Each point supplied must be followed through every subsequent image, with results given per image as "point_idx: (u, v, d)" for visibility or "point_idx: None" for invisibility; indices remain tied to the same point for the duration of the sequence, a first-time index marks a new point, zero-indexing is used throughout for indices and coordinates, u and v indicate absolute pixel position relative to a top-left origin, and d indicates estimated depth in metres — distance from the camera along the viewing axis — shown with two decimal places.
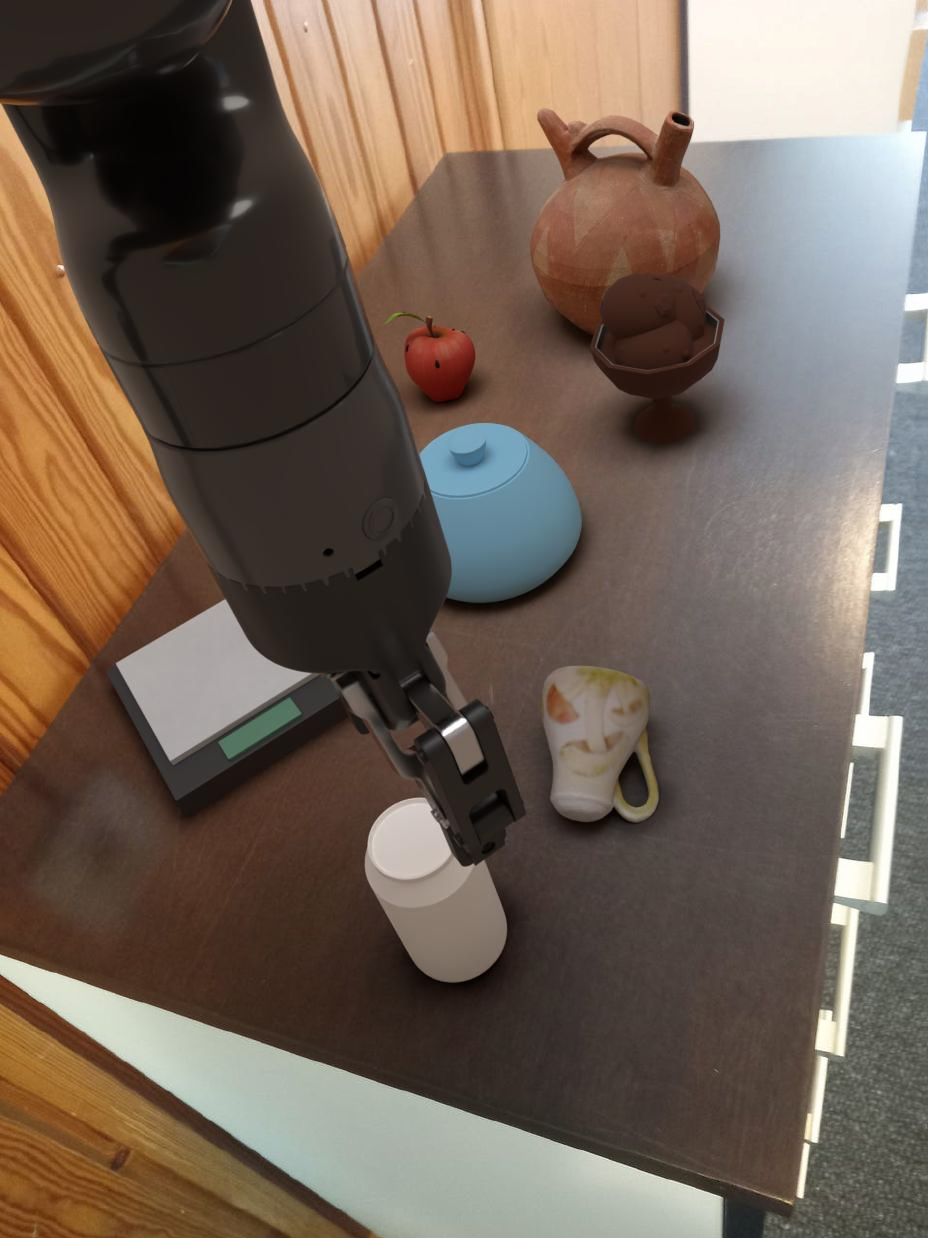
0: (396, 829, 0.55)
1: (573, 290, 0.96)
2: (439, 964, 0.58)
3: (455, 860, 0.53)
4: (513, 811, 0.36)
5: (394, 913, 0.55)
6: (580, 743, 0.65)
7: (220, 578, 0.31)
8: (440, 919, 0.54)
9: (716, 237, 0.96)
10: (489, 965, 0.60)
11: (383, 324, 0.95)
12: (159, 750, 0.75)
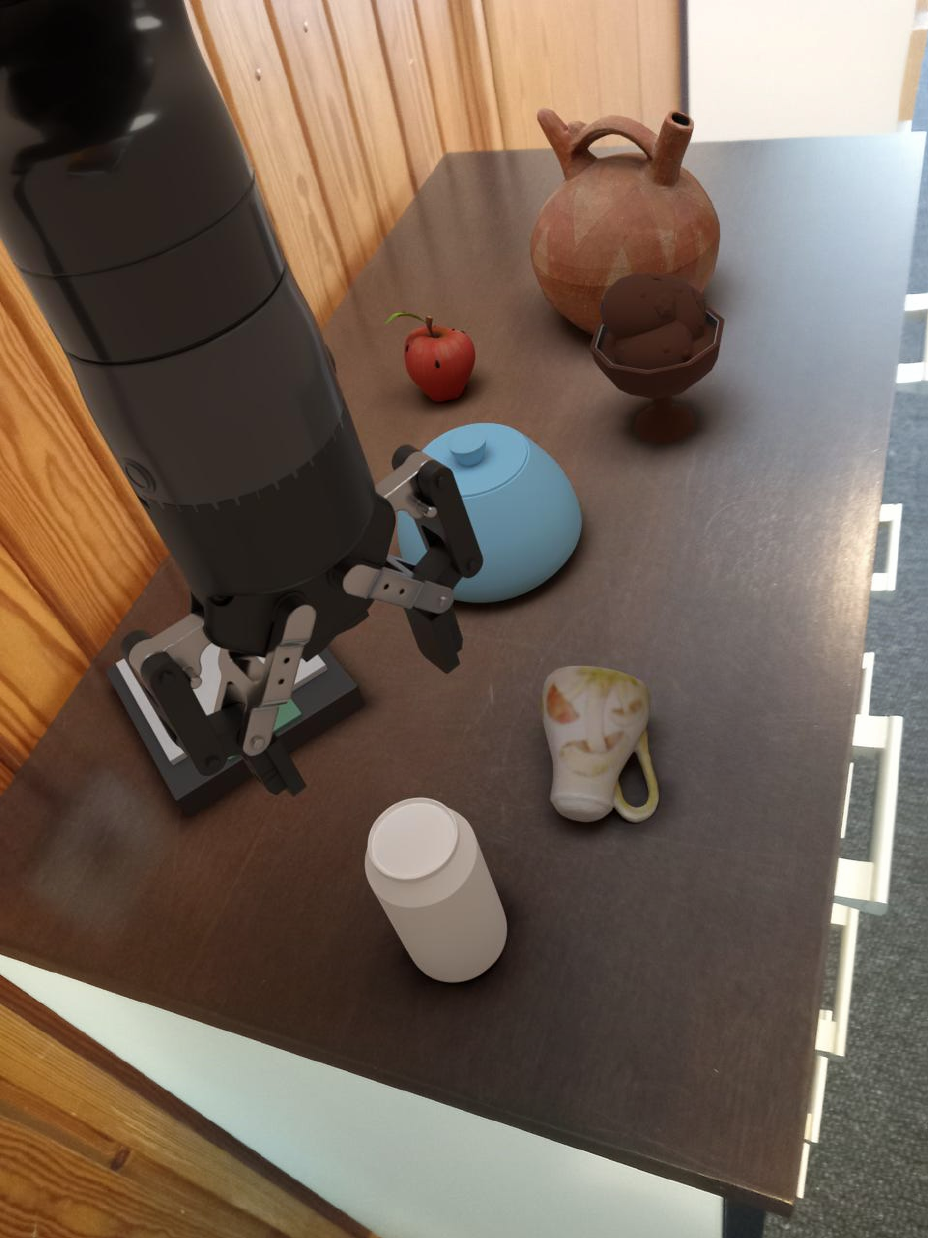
0: (396, 829, 0.55)
1: (573, 290, 0.96)
2: (439, 964, 0.58)
3: (455, 860, 0.53)
4: (190, 759, 0.38)
5: (394, 913, 0.55)
6: (580, 743, 0.65)
7: None
8: (440, 919, 0.54)
9: (716, 237, 0.96)
10: (489, 965, 0.60)
11: (383, 324, 0.95)
12: (159, 750, 0.75)
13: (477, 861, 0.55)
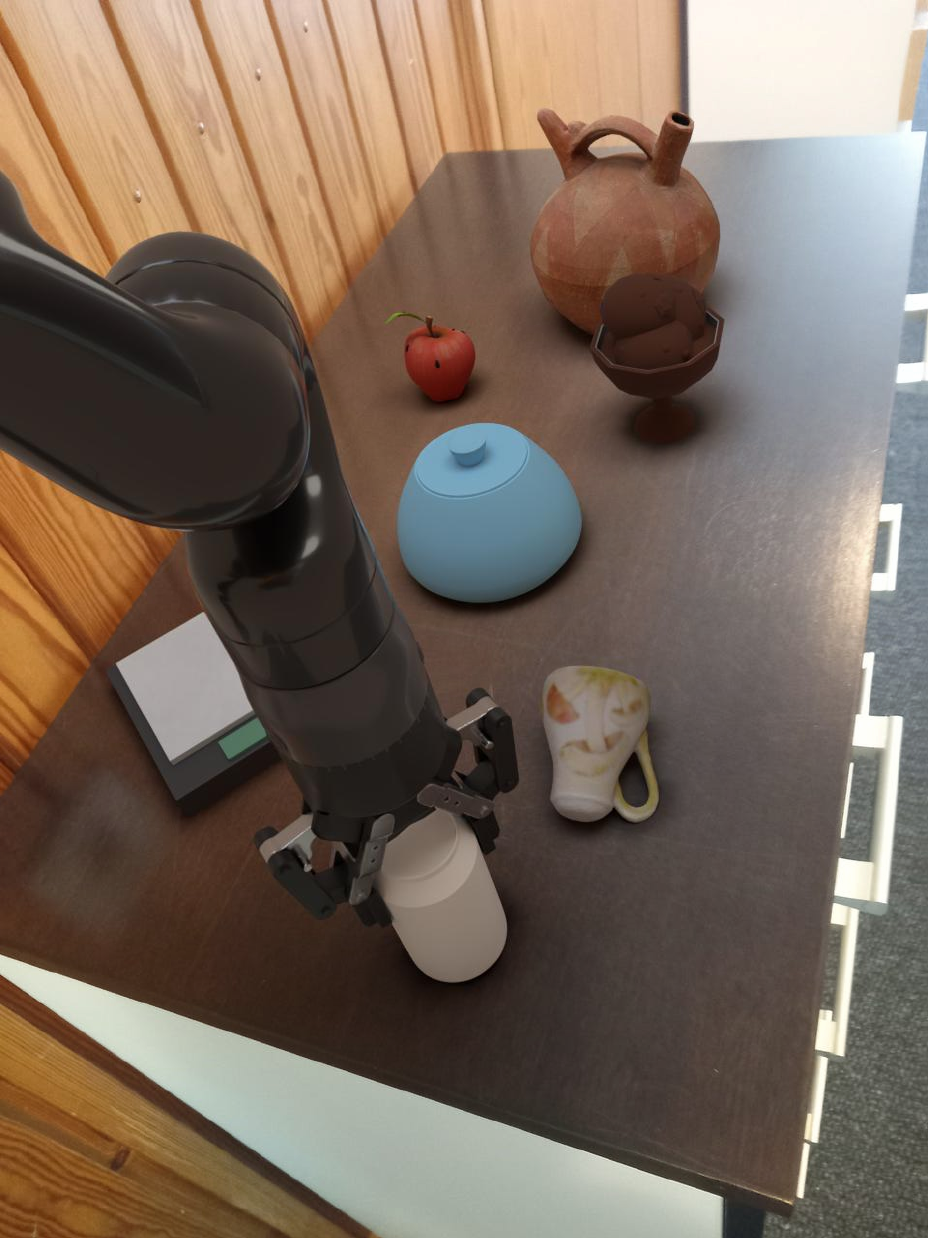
0: None
1: (573, 290, 0.96)
2: (439, 964, 0.58)
3: (455, 860, 0.53)
4: None
5: (394, 913, 0.55)
6: (580, 743, 0.65)
7: None
8: (441, 919, 0.54)
9: (716, 237, 0.96)
10: (489, 965, 0.60)
11: (383, 324, 0.95)
12: (159, 750, 0.75)
13: (477, 861, 0.55)
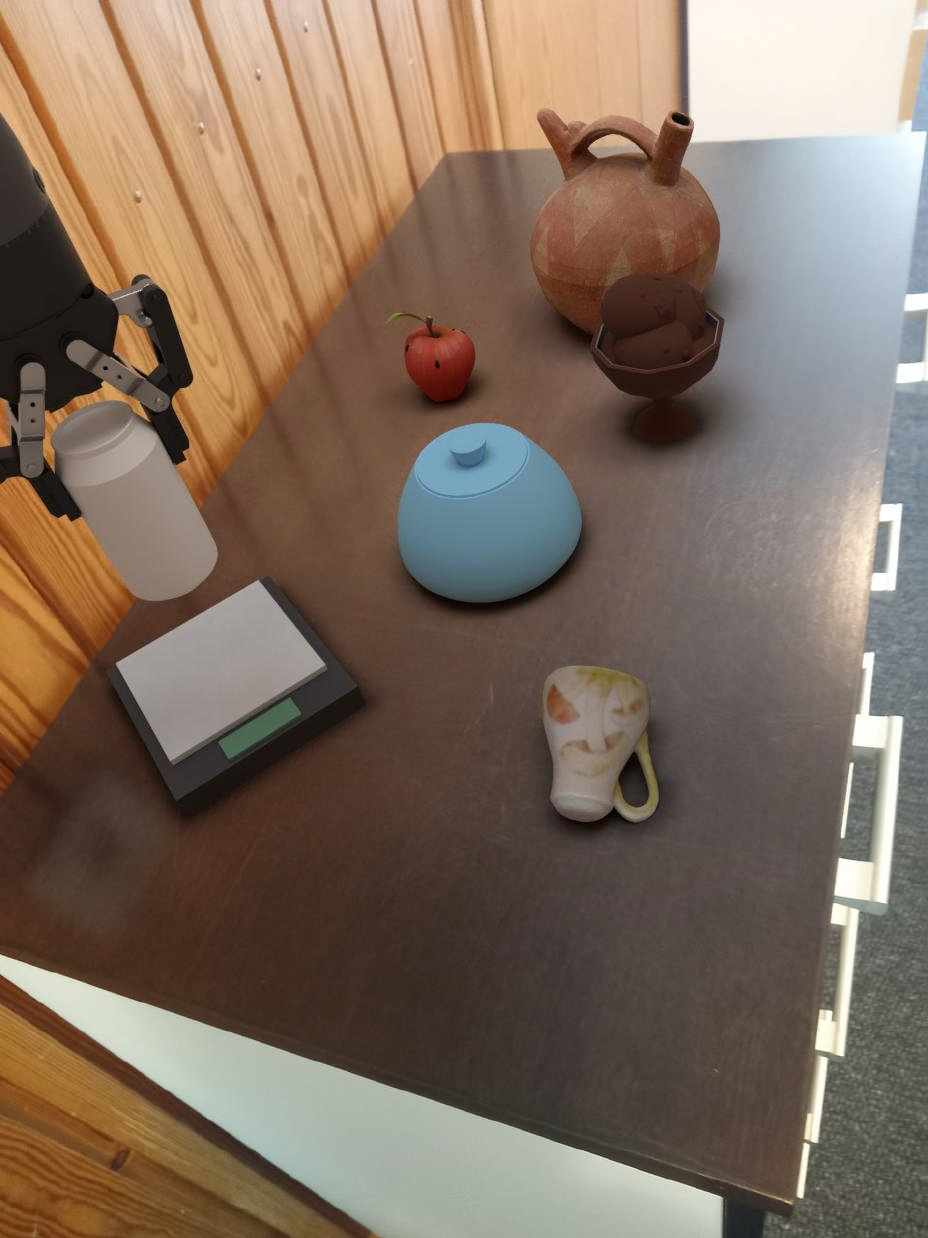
0: (81, 424, 0.59)
1: (573, 290, 0.96)
2: (137, 572, 0.62)
3: (127, 442, 0.57)
4: None
5: (78, 501, 0.59)
6: (580, 742, 0.65)
7: None
8: (119, 505, 0.58)
9: (716, 237, 0.96)
10: (192, 584, 0.64)
11: (383, 324, 0.95)
12: (159, 750, 0.75)
13: (156, 454, 0.59)
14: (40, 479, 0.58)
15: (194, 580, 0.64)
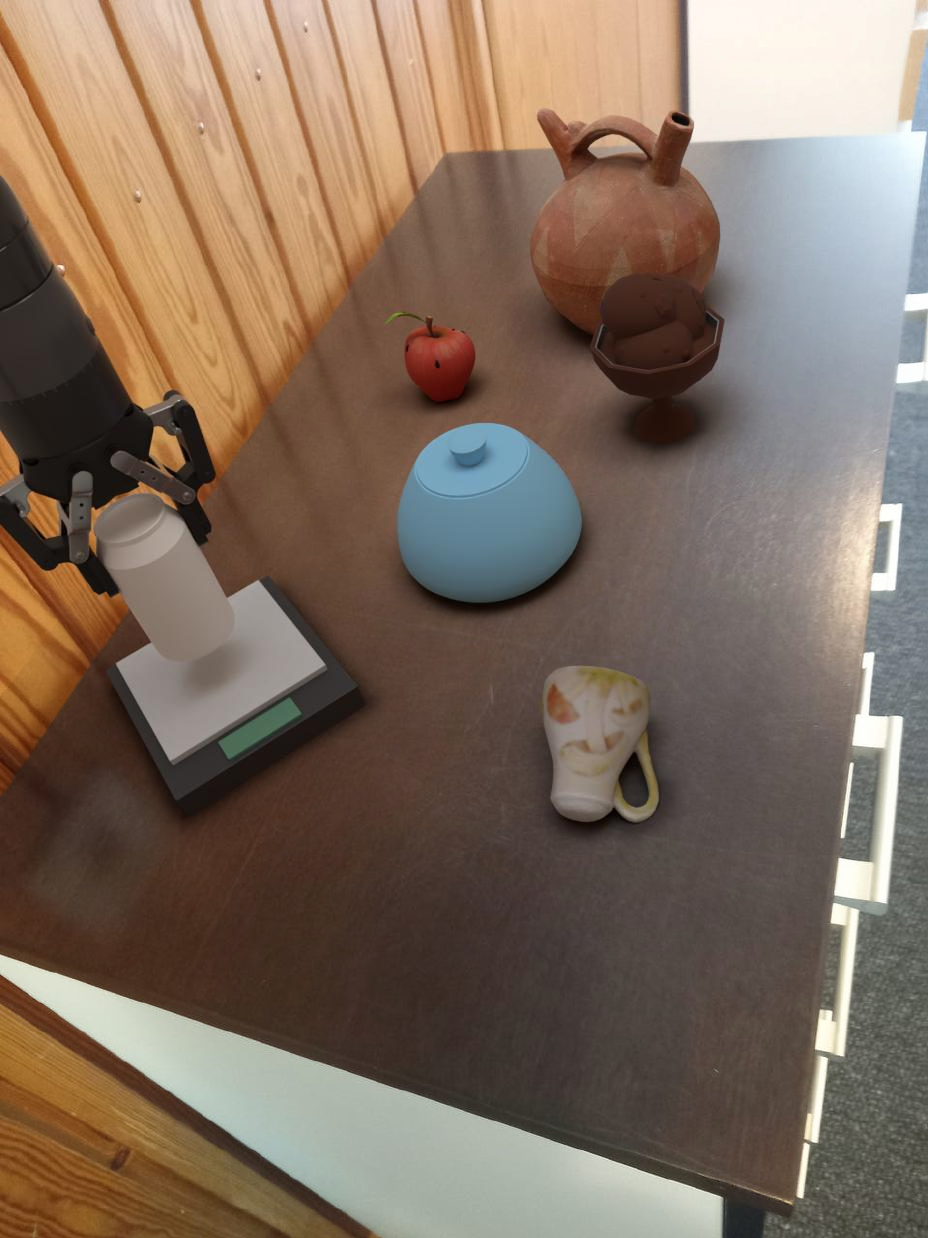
0: (119, 514, 0.69)
1: (573, 290, 0.96)
2: (166, 638, 0.72)
3: (160, 532, 0.67)
4: None
5: (116, 580, 0.68)
6: (580, 742, 0.65)
7: None
8: (152, 584, 0.68)
9: (716, 237, 0.96)
10: (213, 647, 0.74)
11: (383, 324, 0.95)
12: (159, 750, 0.75)
13: (184, 540, 0.69)
14: (85, 563, 0.67)
15: (215, 643, 0.74)
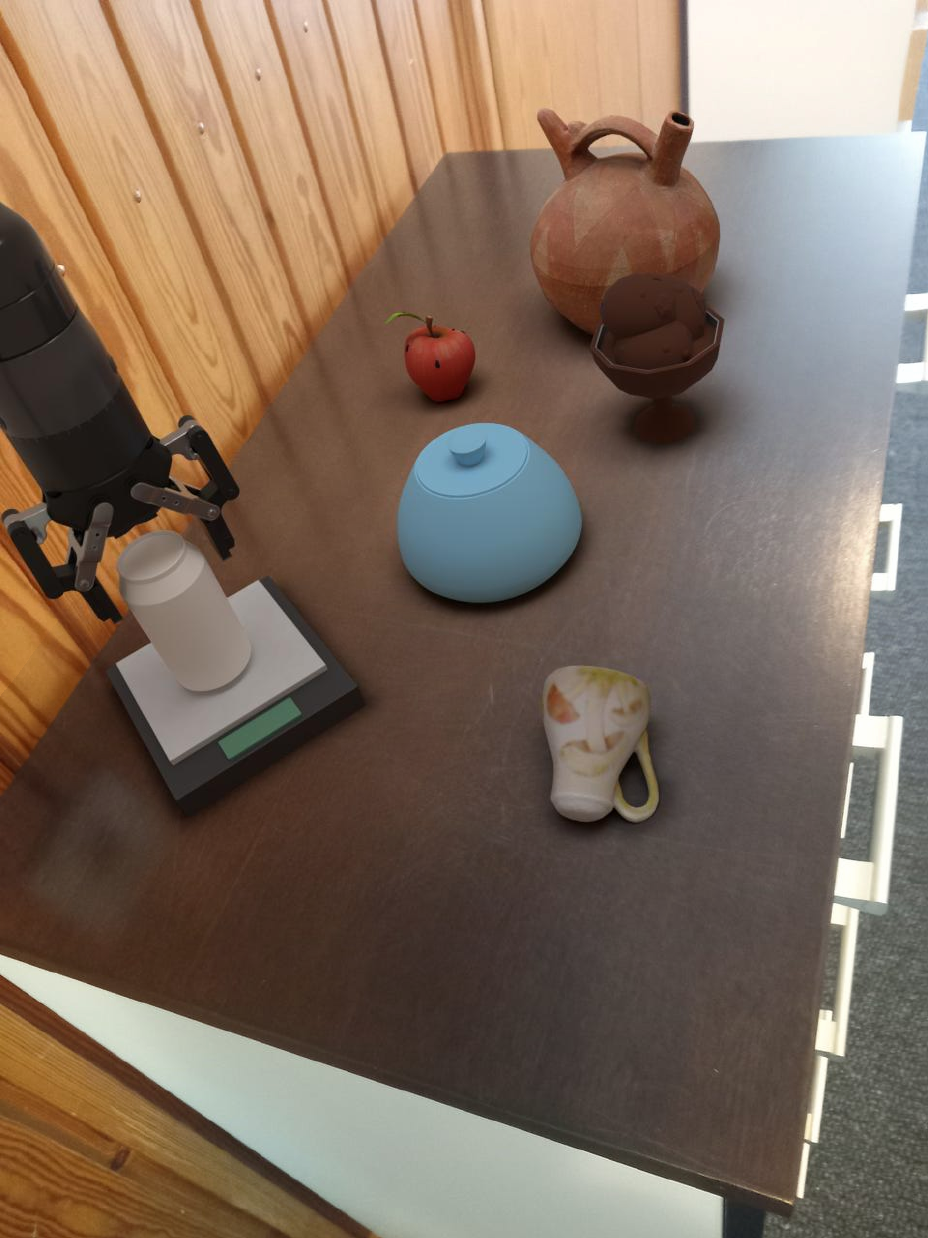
0: (140, 551, 0.71)
1: (573, 290, 0.96)
2: (186, 669, 0.74)
3: (180, 569, 0.70)
4: None
5: (138, 615, 0.71)
6: (580, 742, 0.65)
7: None
8: (173, 618, 0.71)
9: (716, 237, 0.96)
10: (231, 677, 0.76)
11: (383, 324, 0.95)
12: (159, 750, 0.75)
13: (203, 576, 0.71)
14: (90, 591, 0.69)
15: (232, 674, 0.76)
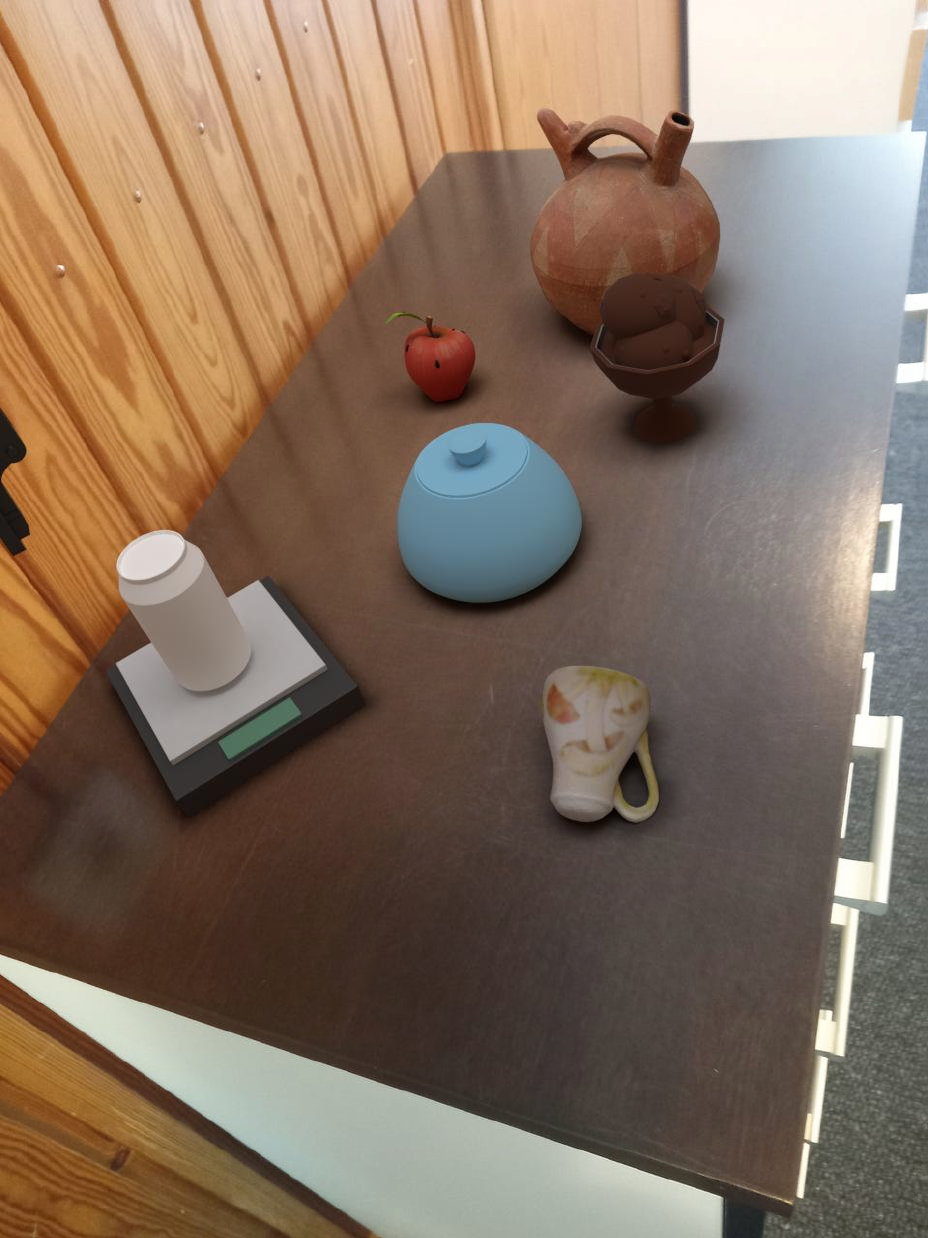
0: (140, 551, 0.71)
1: (573, 290, 0.96)
2: (186, 669, 0.74)
3: (180, 569, 0.70)
4: None
5: (138, 615, 0.71)
6: (580, 743, 0.65)
7: None
8: (173, 618, 0.71)
9: (716, 237, 0.96)
10: (231, 677, 0.76)
11: (383, 324, 0.95)
12: (159, 750, 0.75)
13: (203, 576, 0.71)
14: None
15: (232, 674, 0.76)
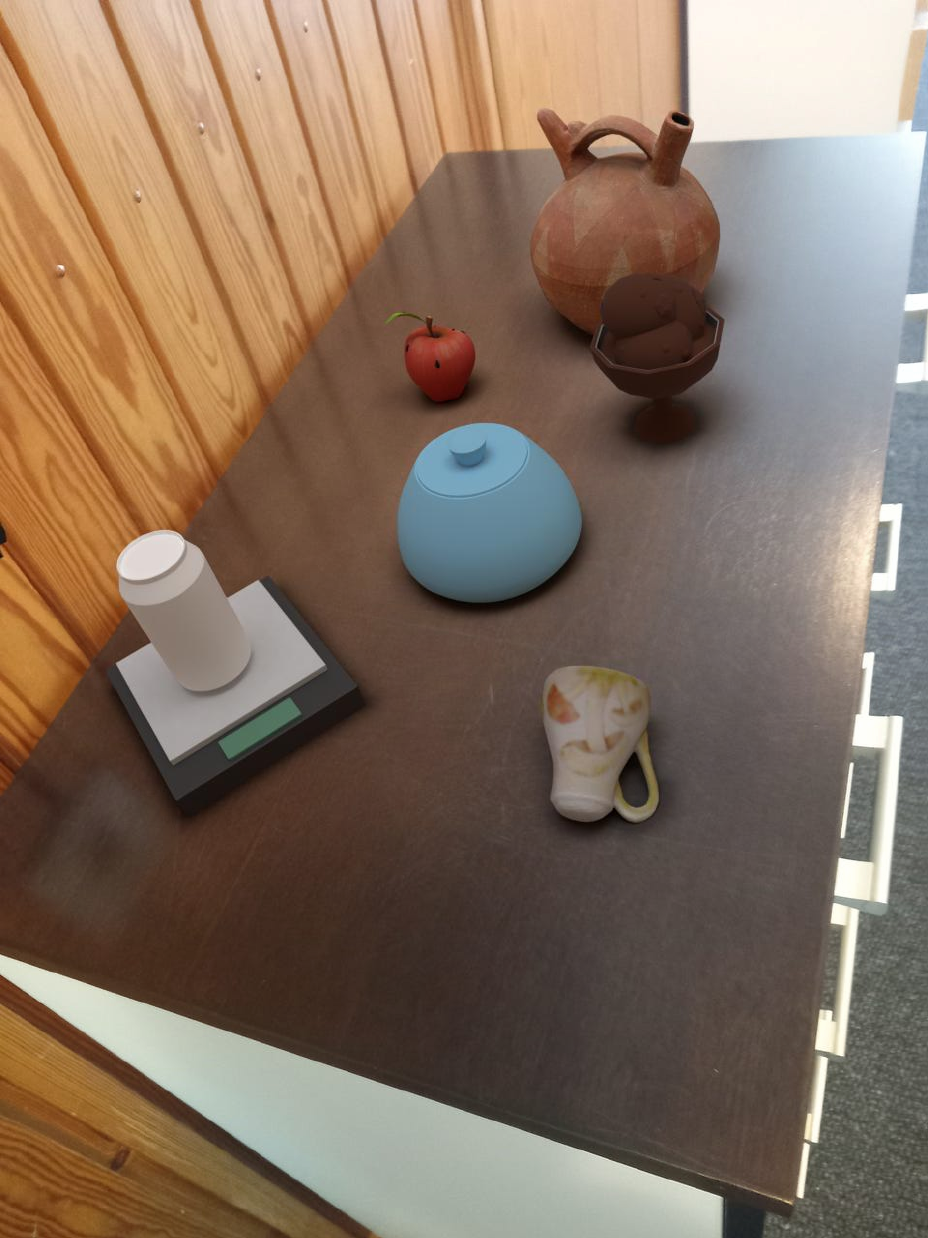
0: (140, 551, 0.71)
1: (573, 290, 0.96)
2: (186, 669, 0.74)
3: (180, 569, 0.70)
4: None
5: (138, 615, 0.71)
6: (580, 742, 0.65)
7: None
8: (173, 618, 0.71)
9: (716, 237, 0.96)
10: (231, 677, 0.76)
11: (383, 324, 0.95)
12: (159, 750, 0.75)
13: (203, 576, 0.71)
14: None
15: (232, 674, 0.76)
